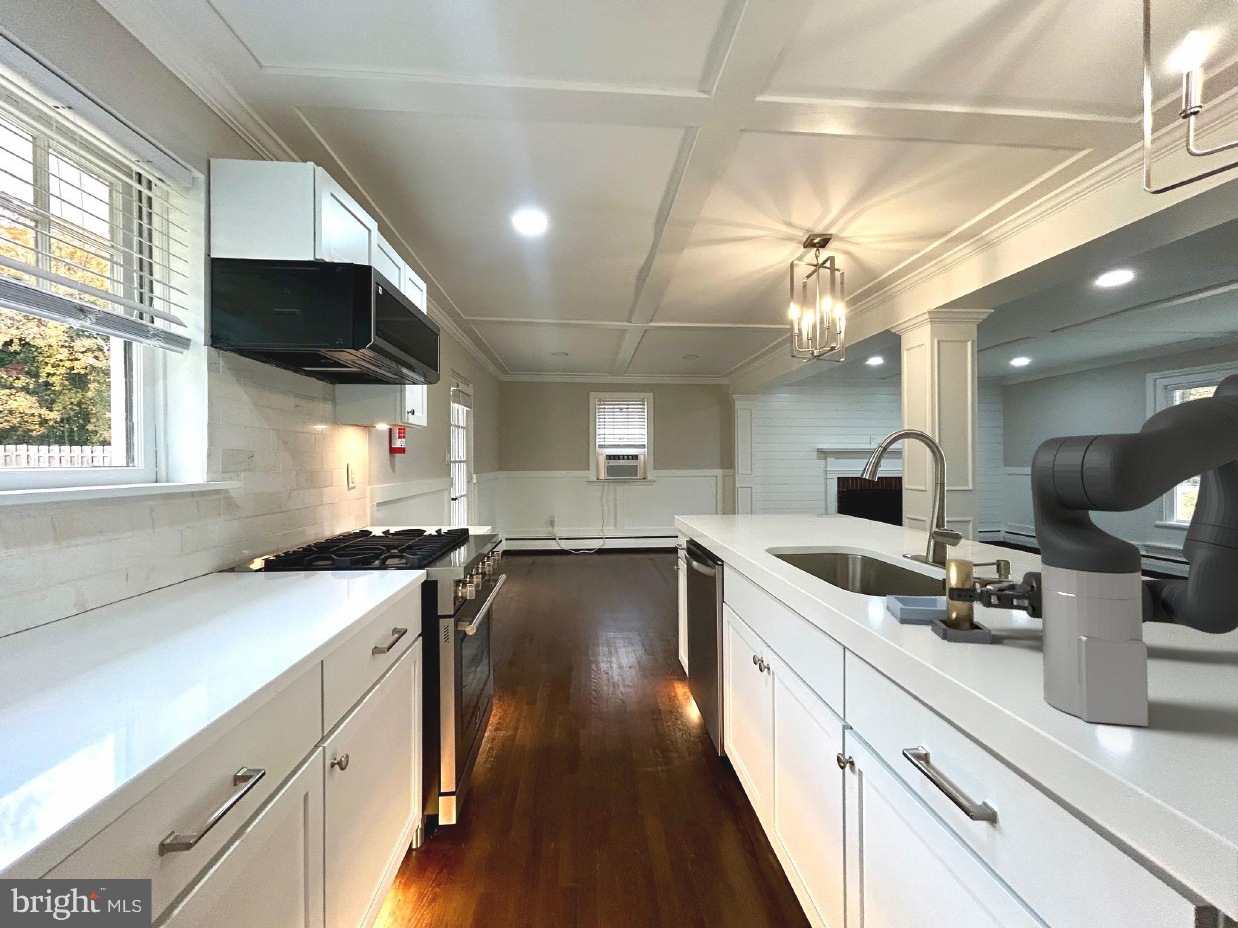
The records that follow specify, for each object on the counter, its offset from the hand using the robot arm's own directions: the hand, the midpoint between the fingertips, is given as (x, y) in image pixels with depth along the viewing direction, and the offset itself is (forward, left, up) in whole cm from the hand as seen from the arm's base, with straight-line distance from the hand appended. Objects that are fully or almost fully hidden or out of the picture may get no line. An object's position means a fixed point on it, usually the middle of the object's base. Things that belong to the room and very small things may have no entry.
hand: (945, 588), depth 94 cm
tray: (+11, +1, -8) cm, 13 cm away
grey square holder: (0, -2, -8) cm, 8 cm away
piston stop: (0, -2, -8) cm, 8 cm away
